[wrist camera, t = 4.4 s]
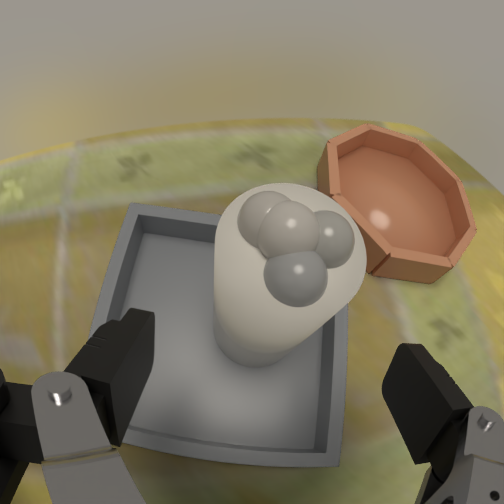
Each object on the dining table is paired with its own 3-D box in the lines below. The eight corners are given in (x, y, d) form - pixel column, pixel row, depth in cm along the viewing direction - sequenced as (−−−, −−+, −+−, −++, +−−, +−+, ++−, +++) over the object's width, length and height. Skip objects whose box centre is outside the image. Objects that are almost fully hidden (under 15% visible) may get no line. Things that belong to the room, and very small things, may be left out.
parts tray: (91, 425, 15) (71, 426, 13) (138, 227, 22) (130, 202, 19) (320, 459, 16) (338, 466, 13) (331, 257, 23) (345, 235, 20)
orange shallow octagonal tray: (317, 267, 22) (331, 246, 20) (316, 136, 29) (324, 112, 26) (465, 289, 23) (487, 274, 20) (436, 169, 30) (449, 150, 27)
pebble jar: (207, 361, 18) (199, 288, 8) (219, 282, 20) (230, 144, 10) (292, 371, 18) (391, 313, 8) (298, 293, 20) (375, 173, 10)
